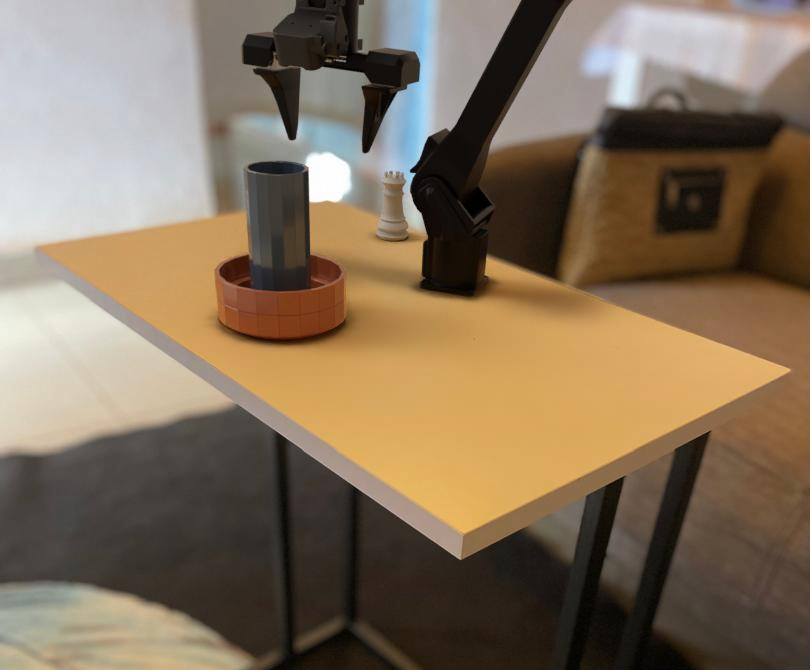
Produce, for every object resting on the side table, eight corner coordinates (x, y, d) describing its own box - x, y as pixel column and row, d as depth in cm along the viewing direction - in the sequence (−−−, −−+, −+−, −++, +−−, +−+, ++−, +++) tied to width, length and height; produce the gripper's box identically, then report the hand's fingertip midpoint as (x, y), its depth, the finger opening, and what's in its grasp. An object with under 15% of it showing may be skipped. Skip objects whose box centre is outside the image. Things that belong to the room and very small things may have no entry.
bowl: (366, 310, 90) (367, 263, 87) (308, 353, 80) (307, 301, 77) (260, 289, 93) (258, 243, 90) (193, 328, 83) (187, 278, 81)
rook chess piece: (368, 236, 112) (369, 172, 107) (388, 229, 115) (390, 167, 110) (396, 243, 110) (398, 178, 105) (415, 236, 113) (418, 173, 108)
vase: (284, 298, 90) (278, 157, 81) (323, 313, 87) (321, 168, 78) (240, 312, 86) (230, 166, 78) (280, 328, 83) (273, 178, 75)
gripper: (207, -29, 81) (217, 145, 90) (383, -9, 76) (374, 173, 85) (266, -30, 90) (269, 129, 99) (428, -12, 85) (415, 154, 94)
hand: (328, 146), depth 94 cm, fingers open, 9 cm apart
